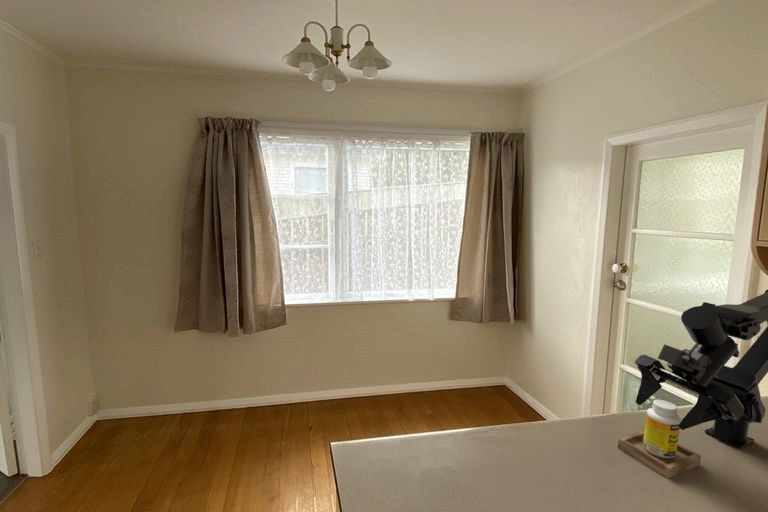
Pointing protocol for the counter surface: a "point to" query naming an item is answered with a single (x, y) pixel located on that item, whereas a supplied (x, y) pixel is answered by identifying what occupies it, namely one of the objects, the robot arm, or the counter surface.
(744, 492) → the counter surface
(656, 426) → the supplement bottle
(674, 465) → the walnut tray
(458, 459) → the counter surface
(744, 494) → the counter surface
